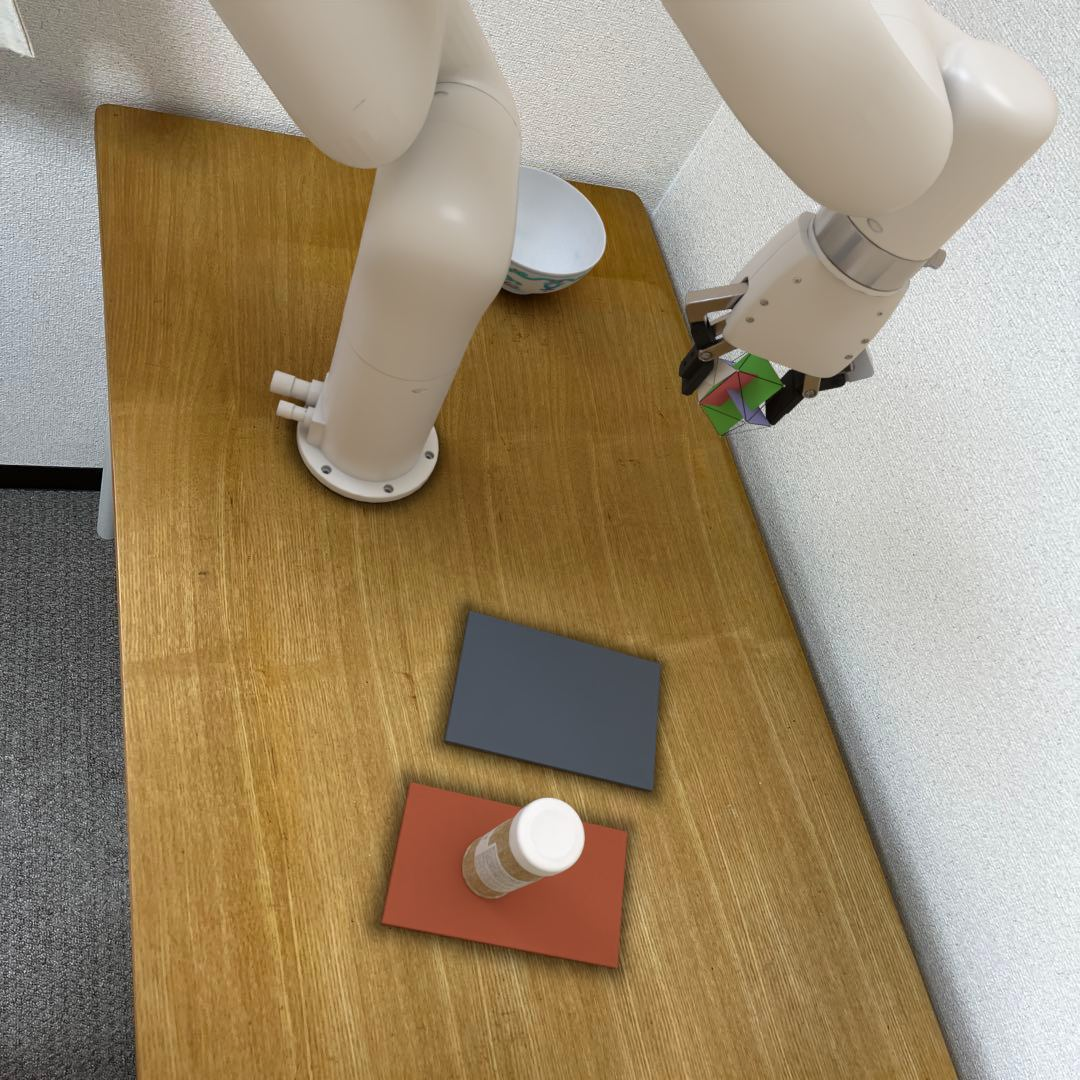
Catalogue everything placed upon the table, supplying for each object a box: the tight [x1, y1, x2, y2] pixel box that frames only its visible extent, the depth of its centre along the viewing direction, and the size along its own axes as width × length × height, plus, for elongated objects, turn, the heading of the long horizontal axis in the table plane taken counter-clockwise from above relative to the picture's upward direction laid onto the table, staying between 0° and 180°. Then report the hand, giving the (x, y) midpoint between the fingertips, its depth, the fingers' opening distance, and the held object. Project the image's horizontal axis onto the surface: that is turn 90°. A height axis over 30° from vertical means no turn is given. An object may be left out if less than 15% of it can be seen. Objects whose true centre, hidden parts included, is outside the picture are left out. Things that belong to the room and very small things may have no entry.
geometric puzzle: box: [695, 351, 785, 438], centre depth 73 cm, size 7×7×8 cm
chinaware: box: [501, 164, 607, 295], centre depth 95 cm, size 15×15×8 cm
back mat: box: [443, 610, 662, 793], centre depth 75 cm, size 18×12×1 cm, turn 82°
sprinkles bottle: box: [462, 797, 585, 899], centre depth 61 cm, size 5×5×14 cm
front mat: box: [380, 782, 628, 969], centre depth 67 cm, size 18×10×1 cm, turn 82°
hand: (728, 395), depth 73 cm, fingers closed on geometric puzzle, 7 cm apart
